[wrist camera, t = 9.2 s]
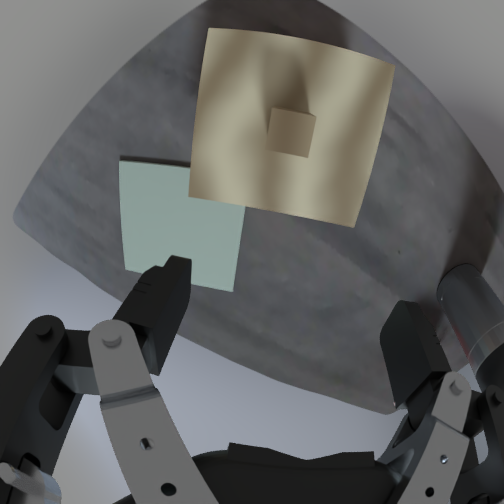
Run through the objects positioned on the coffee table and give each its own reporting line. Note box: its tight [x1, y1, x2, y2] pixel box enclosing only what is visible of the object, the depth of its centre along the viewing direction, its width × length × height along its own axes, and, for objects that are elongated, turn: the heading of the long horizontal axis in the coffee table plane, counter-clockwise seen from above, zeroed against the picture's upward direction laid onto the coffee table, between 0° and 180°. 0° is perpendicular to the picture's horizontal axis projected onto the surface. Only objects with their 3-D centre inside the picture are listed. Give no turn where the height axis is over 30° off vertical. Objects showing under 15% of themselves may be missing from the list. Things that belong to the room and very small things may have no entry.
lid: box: [188, 28, 395, 228], centre depth 21 cm, size 16×16×6 cm
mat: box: [119, 160, 246, 292], centre depth 39 cm, size 18×18×1 cm
